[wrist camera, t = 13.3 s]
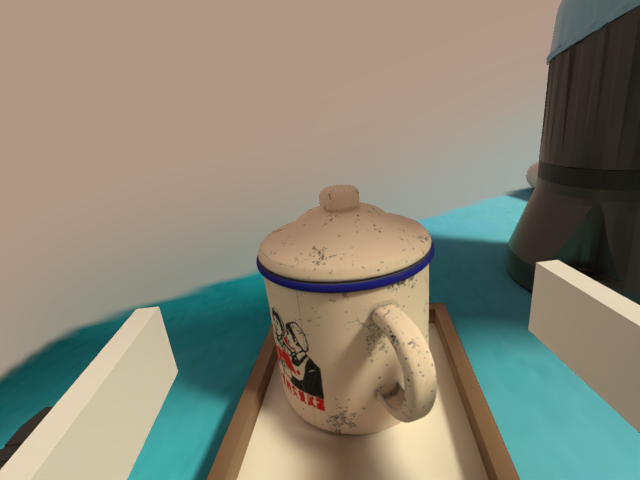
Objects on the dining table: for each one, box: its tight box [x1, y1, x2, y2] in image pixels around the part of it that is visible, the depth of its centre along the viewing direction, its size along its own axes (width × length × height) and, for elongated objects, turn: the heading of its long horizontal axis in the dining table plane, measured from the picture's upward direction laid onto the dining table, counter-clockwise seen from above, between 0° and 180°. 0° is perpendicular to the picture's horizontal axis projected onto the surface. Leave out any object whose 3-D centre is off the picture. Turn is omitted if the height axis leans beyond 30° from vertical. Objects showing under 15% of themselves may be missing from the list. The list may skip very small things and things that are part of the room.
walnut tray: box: [207, 303, 520, 480], centre depth 20 cm, size 13×16×2 cm
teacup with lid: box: [257, 185, 437, 435], centre depth 18 cm, size 12×9×12 cm
